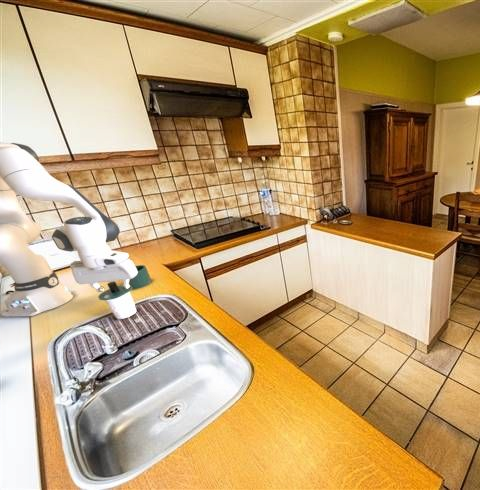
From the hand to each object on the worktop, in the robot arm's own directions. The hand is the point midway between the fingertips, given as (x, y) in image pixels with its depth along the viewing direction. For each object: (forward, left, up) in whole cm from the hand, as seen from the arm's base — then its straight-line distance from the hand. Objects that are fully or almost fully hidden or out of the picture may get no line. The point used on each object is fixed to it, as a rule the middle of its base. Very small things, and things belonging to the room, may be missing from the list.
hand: (114, 289), depth 107 cm
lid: (0, 0, -2) cm, 2 cm away
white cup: (0, 0, -12) cm, 12 cm away
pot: (-11, +27, -12) cm, 32 cm away
